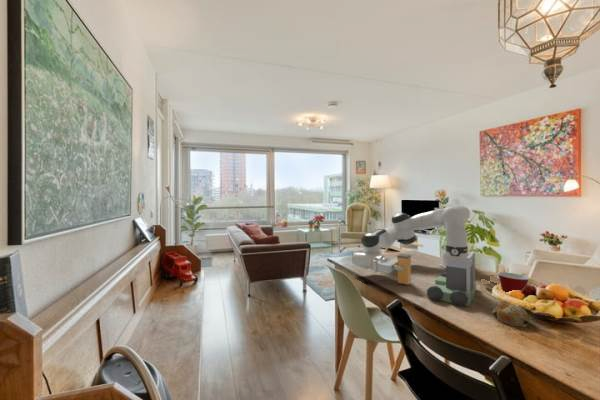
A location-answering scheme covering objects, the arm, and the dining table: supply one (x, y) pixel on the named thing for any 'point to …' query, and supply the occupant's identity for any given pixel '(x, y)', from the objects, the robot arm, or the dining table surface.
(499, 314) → the grey brown rounded lump
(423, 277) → the dining table surface
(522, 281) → the plastic cup
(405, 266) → the orange tall cylinder
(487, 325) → the dining table surface
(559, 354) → the dining table surface
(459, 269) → the green wheeled cart
